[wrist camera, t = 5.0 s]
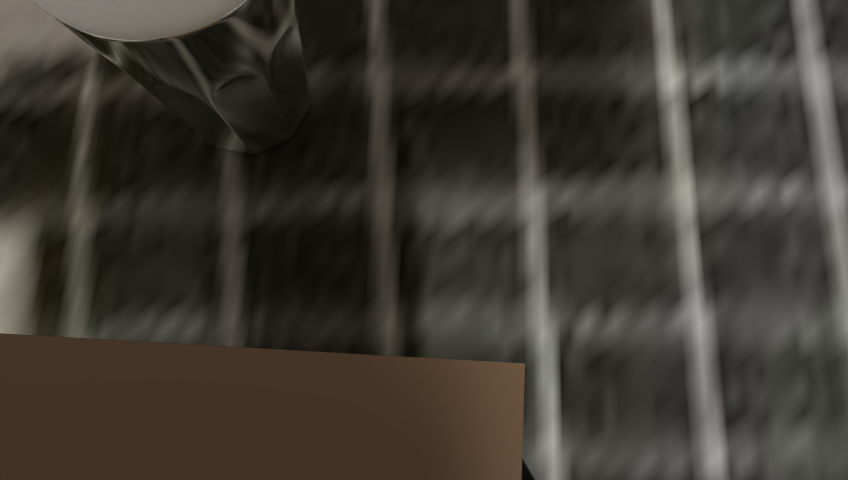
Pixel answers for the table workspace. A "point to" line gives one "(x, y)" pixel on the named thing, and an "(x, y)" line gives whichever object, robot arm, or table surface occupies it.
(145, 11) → the milkshake
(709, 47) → the table surface
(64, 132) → the table surface
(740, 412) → the table surface
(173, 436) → the block
